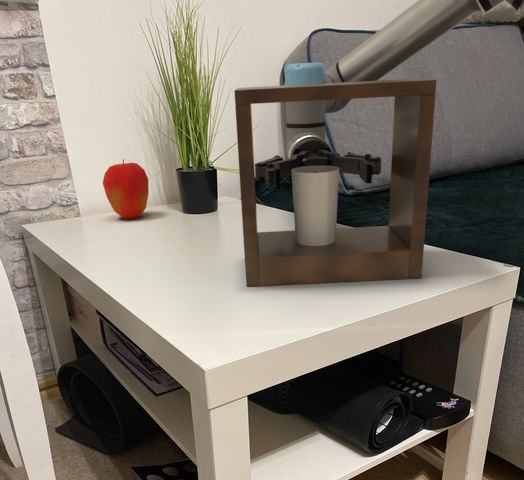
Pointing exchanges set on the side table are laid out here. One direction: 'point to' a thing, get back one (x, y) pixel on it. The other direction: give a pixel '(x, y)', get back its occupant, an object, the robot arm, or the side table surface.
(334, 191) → the drinking glass
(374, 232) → the shelf unit
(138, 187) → the apple
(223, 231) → the side table surface
